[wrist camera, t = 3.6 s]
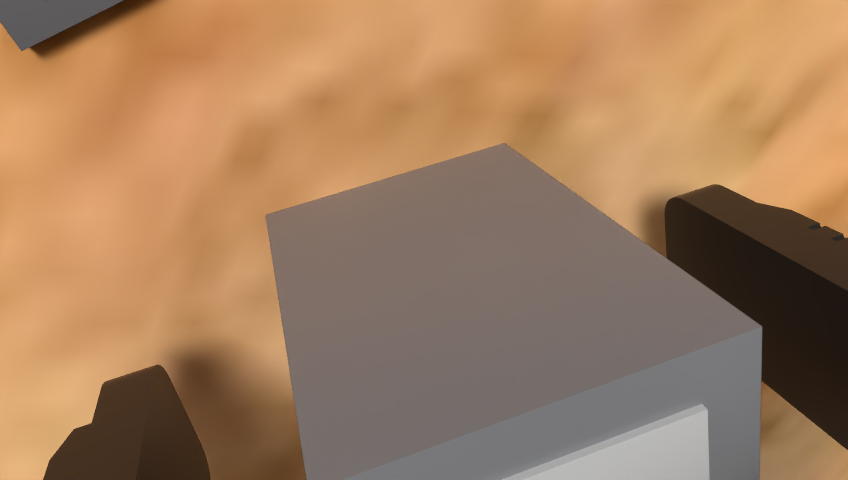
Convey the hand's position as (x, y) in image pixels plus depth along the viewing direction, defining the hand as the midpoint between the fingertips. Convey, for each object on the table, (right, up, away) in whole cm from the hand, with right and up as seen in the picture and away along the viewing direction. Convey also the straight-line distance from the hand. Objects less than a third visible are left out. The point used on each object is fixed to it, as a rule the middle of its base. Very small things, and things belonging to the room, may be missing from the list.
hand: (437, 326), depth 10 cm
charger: (0, +1, +1) cm, 1 cm away
